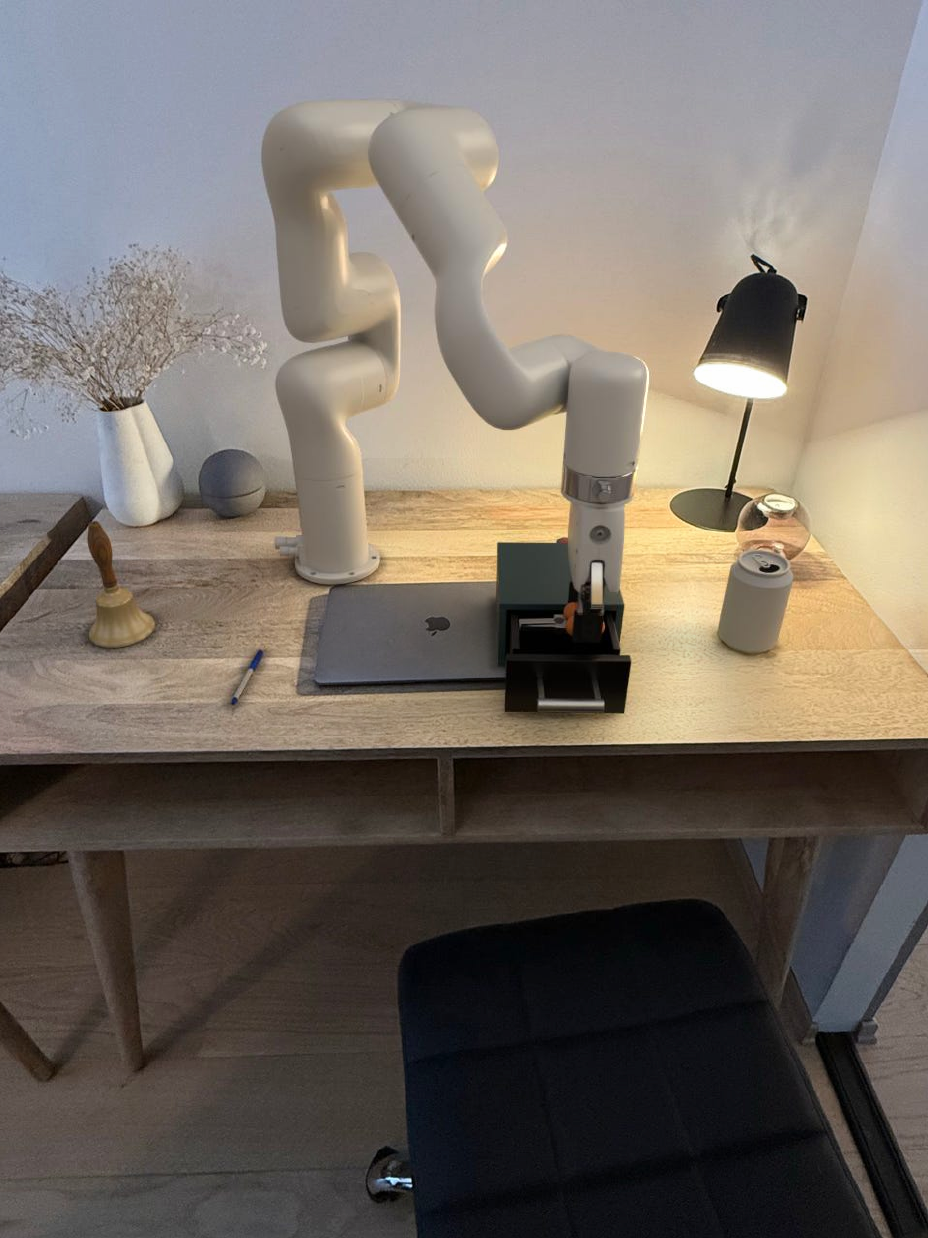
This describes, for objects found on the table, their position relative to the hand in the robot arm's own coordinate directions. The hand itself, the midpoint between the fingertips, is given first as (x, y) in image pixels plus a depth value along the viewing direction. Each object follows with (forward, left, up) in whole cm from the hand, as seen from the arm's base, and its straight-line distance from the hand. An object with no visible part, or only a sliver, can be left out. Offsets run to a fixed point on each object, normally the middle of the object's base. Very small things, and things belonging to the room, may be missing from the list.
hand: (583, 624), depth 94 cm
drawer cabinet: (-2, +11, -9) cm, 15 cm away
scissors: (-2, 0, 0) cm, 2 cm away
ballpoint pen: (-40, +1, -9) cm, 41 cm away
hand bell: (-59, +11, -9) cm, 61 cm away
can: (+23, +10, -9) cm, 27 cm away
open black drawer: (-2, -1, -8) cm, 8 cm away
